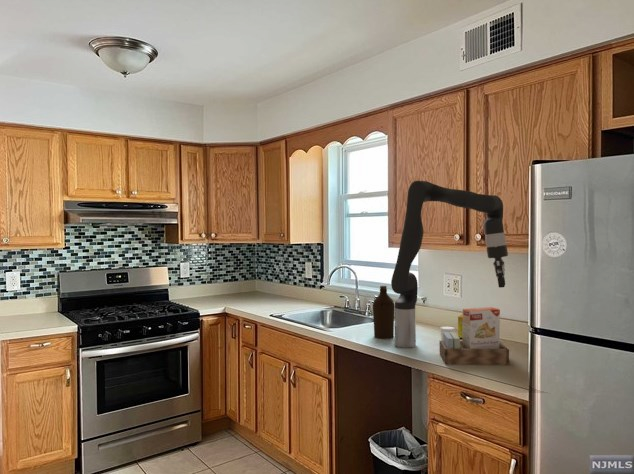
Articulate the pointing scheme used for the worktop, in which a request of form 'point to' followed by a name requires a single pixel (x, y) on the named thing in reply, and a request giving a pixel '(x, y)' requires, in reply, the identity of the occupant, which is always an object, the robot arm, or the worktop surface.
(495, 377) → the worktop surface
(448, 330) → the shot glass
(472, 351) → the wooden tray
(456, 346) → the offcut
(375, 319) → the olive oil
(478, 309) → the cracker box
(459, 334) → the yellow cylinder
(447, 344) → the offcut
